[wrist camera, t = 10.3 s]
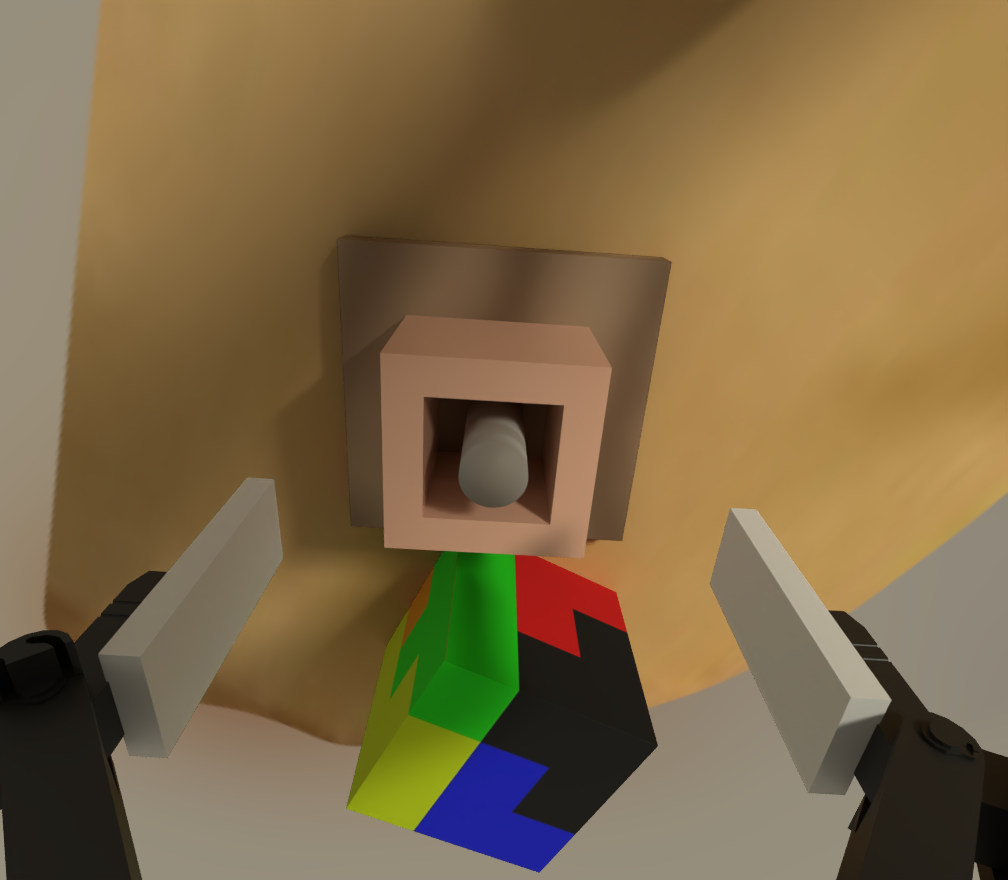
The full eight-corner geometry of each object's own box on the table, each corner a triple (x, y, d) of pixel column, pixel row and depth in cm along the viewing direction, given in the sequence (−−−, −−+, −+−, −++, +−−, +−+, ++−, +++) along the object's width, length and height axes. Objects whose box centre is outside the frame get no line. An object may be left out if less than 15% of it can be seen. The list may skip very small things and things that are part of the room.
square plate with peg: (662, 257, 26) (730, 292, 18) (616, 525, 32) (653, 638, 24) (345, 235, 26) (277, 261, 18) (357, 510, 31) (309, 620, 24)
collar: (588, 326, 26) (611, 367, 20) (568, 486, 29) (583, 558, 24) (406, 314, 25) (380, 352, 20) (406, 476, 29) (384, 547, 23)
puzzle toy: (530, 702, 37) (539, 872, 28) (386, 645, 35) (346, 808, 26) (615, 591, 34) (658, 745, 25) (461, 521, 32) (444, 660, 23)
